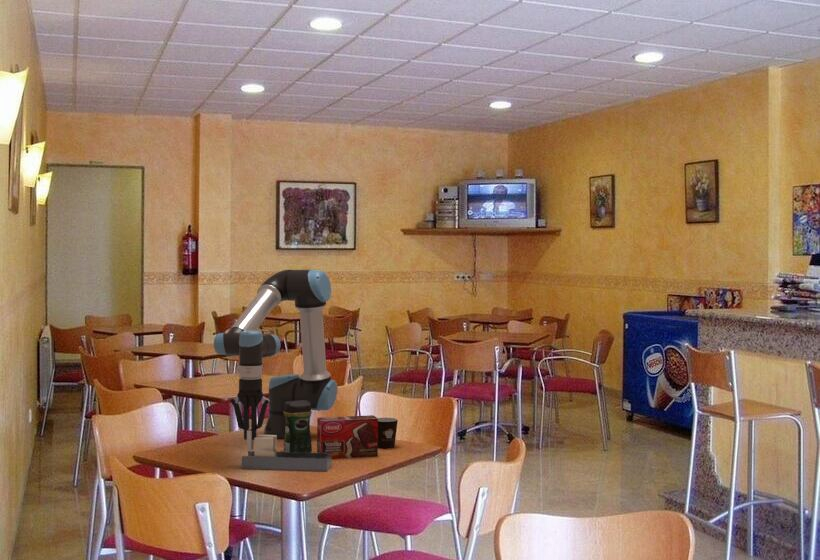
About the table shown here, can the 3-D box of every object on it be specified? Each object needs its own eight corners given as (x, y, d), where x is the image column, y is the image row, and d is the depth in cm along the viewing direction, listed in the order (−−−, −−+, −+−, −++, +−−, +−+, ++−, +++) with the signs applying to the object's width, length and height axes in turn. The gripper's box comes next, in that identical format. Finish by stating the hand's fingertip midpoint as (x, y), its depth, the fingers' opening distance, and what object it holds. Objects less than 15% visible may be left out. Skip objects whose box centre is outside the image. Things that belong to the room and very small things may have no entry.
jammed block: (258, 458, 303) (258, 434, 303) (276, 459, 303) (276, 435, 302) (254, 462, 297) (254, 438, 297) (272, 463, 297) (272, 438, 297)
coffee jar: (305, 450, 326) (306, 398, 326) (314, 454, 319) (314, 401, 319) (280, 452, 322) (280, 399, 321) (288, 456, 315) (288, 403, 314)
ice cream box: (320, 459, 311) (320, 420, 311) (317, 455, 317) (317, 417, 317) (377, 456, 317) (377, 418, 316) (372, 452, 323) (373, 415, 323)
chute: (248, 462, 305) (248, 450, 305) (331, 465, 303) (331, 453, 302) (241, 468, 296) (241, 456, 296) (327, 471, 294) (327, 458, 294)
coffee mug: (398, 444, 337) (399, 417, 336) (396, 449, 328) (396, 421, 328) (367, 443, 338) (367, 417, 338) (364, 448, 329) (364, 421, 329)
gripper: (227, 379, 297) (227, 451, 297) (267, 379, 295) (266, 452, 296) (234, 376, 304) (233, 446, 305) (272, 377, 303) (272, 447, 303)
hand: (250, 449), depth 300 cm, fingers closed
